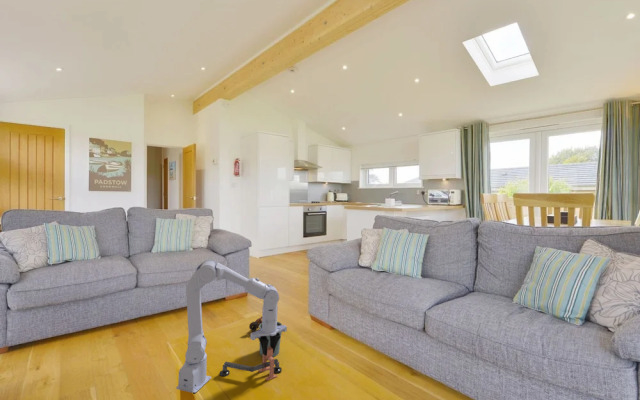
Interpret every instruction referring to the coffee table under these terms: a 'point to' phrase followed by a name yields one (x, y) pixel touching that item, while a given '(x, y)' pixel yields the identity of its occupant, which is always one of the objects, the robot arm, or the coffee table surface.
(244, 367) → the wheeled bent frame
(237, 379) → the coffee table surface
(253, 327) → the vr controller
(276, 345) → the green tapered cup
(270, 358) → the pink blocky toy figure
